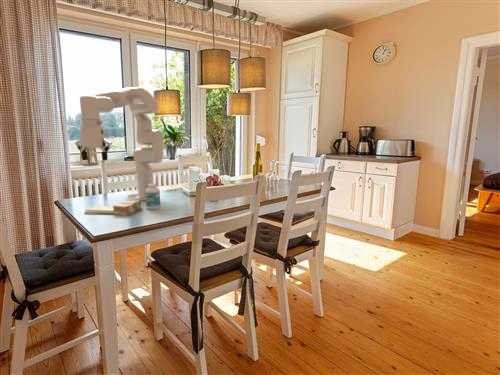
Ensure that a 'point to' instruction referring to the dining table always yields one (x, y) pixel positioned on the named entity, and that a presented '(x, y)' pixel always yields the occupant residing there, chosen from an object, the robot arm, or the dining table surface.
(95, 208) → the cover
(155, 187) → the pill bottle
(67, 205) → the dining table surface
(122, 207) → the overhang cubby
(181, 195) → the dining table surface
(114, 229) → the dining table surface
